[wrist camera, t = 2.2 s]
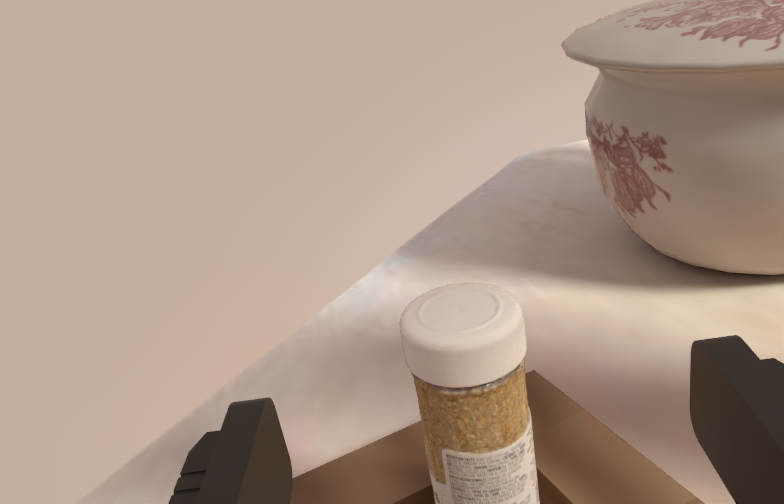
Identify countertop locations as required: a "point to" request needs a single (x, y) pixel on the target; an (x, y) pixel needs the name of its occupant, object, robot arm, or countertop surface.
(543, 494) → the socket board
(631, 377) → the countertop surface
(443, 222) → the countertop surface
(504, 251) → the countertop surface
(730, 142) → the chamber pot
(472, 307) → the spice jar
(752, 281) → the countertop surface
